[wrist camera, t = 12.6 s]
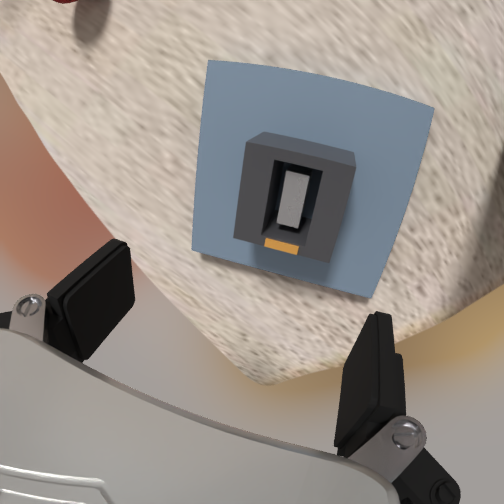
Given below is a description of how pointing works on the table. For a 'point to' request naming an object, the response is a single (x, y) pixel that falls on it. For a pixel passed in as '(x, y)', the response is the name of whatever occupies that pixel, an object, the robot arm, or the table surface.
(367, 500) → the robot arm
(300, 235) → the hollow gray block
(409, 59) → the table surface
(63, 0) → the onion
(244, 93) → the base board
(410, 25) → the table surface
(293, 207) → the block
